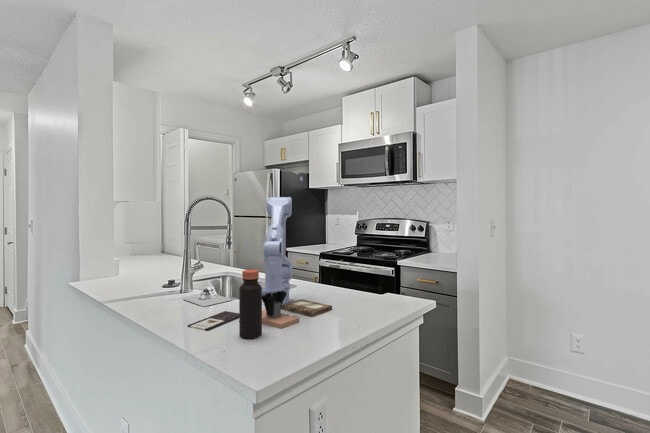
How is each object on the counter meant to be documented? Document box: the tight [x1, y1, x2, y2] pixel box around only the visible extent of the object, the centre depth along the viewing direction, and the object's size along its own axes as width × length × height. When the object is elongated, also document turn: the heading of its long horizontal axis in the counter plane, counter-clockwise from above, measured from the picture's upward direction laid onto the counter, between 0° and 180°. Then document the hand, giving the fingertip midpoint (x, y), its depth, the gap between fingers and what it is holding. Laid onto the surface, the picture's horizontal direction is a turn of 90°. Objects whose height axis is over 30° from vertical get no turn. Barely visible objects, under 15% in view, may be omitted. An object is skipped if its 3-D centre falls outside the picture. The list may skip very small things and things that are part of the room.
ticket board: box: [281, 298, 333, 318], centre depth 140 cm, size 16×12×2 cm
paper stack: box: [167, 294, 234, 307], centre depth 152 cm, size 23×25×1 cm
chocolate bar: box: [187, 310, 239, 332], centre depth 126 cm, size 9×1×18 cm
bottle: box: [238, 269, 263, 340], centre depth 111 cm, size 7×7×20 cm
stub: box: [262, 301, 300, 330], centre depth 126 cm, size 16×9×6 cm, turn 52°
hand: (273, 313), depth 126 cm, fingers closed on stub, 3 cm apart
